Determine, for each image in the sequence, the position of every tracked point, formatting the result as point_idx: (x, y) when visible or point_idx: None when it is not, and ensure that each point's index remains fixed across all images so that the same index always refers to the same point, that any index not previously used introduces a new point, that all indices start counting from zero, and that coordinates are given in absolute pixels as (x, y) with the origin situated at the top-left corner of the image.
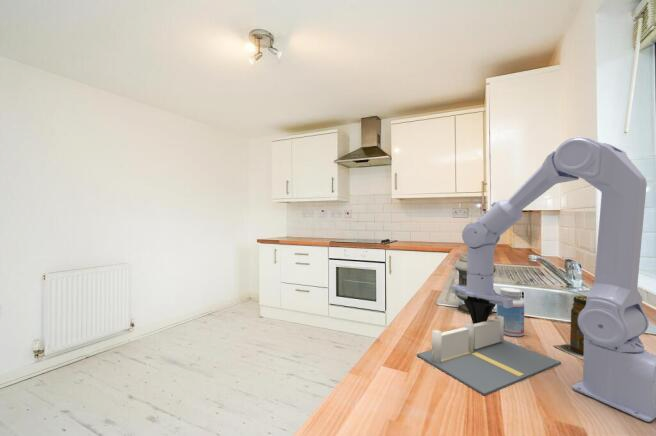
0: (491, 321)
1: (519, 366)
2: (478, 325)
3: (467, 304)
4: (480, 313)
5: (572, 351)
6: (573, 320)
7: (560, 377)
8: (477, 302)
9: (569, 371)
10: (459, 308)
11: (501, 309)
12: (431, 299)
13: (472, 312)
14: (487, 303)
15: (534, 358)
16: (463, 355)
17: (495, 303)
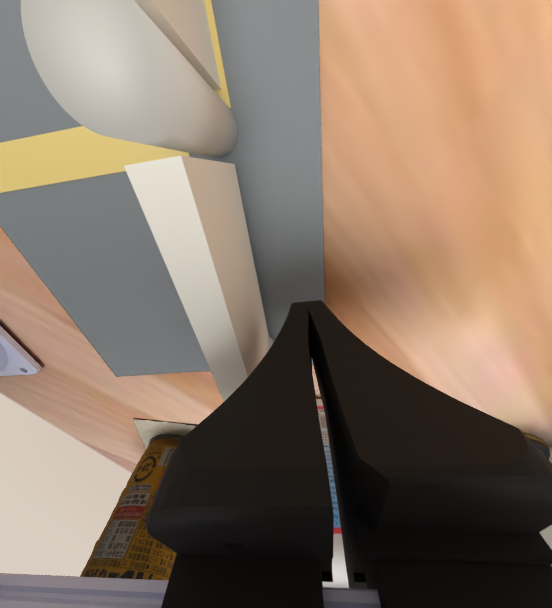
0: (228, 378)
1: (61, 241)
2: (154, 227)
3: (433, 417)
4: (247, 378)
5: (181, 433)
6: (147, 538)
7: (33, 308)
8: (254, 528)
9: (78, 355)
10: (537, 442)
11: (334, 499)
12: None
13: (342, 361)
14: (183, 553)
15: (132, 337)
16: None
17: (92, 592)
